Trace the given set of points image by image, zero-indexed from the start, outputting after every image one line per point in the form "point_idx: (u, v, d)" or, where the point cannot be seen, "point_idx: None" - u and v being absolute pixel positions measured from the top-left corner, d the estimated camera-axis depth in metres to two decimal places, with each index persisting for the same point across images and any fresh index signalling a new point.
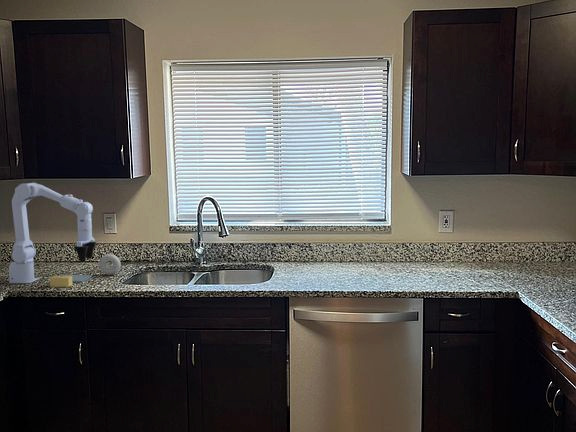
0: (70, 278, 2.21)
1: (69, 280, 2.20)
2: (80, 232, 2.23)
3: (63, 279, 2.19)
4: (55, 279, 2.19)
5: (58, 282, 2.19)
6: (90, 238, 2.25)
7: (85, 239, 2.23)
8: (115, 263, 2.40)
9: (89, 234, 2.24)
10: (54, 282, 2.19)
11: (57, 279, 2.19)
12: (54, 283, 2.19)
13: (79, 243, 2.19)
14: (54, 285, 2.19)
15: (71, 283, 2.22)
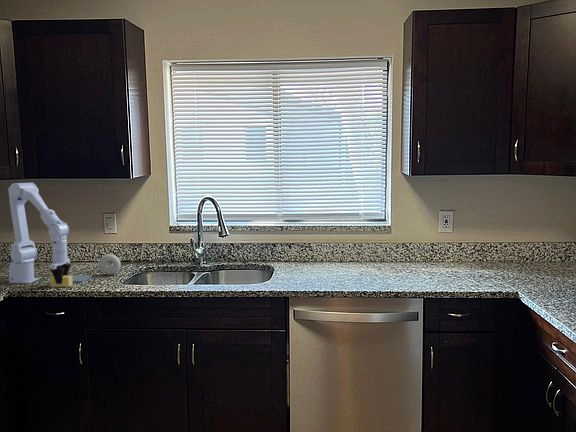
0: (70, 278, 2.21)
1: (69, 279, 2.20)
2: (55, 254, 2.17)
3: (63, 279, 2.19)
4: None
5: None
6: (65, 260, 2.19)
7: (60, 261, 2.18)
8: (115, 263, 2.40)
9: (64, 256, 2.19)
10: (54, 282, 2.19)
11: None
12: (55, 283, 2.19)
13: (53, 266, 2.13)
14: (54, 285, 2.19)
15: (71, 283, 2.22)
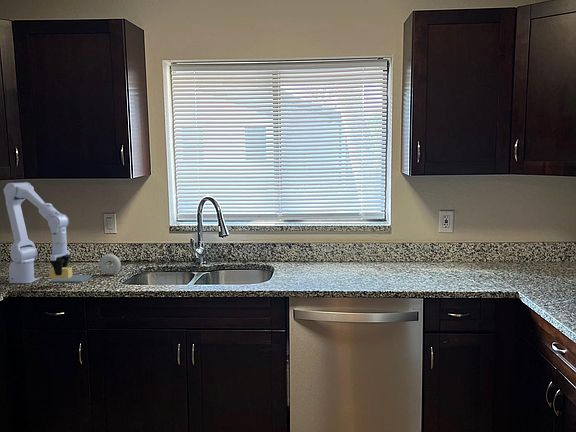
0: (70, 269, 2.21)
1: (68, 271, 2.19)
2: (54, 245, 2.17)
3: (63, 270, 2.19)
4: None
5: None
6: (65, 251, 2.19)
7: (59, 253, 2.17)
8: (115, 263, 2.40)
9: (64, 247, 2.18)
10: (53, 274, 2.19)
11: None
12: (54, 275, 2.19)
13: (53, 257, 2.13)
14: (54, 276, 2.19)
15: (71, 274, 2.22)
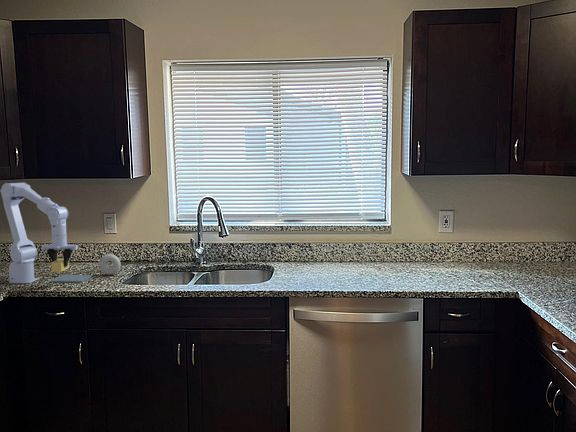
0: (56, 264, 2.16)
1: (53, 265, 2.16)
2: None
3: None
4: None
5: None
6: (54, 244, 2.17)
7: (52, 244, 2.18)
8: (115, 263, 2.40)
9: (53, 240, 2.17)
10: None
11: None
12: None
13: None
14: None
15: (58, 269, 2.16)
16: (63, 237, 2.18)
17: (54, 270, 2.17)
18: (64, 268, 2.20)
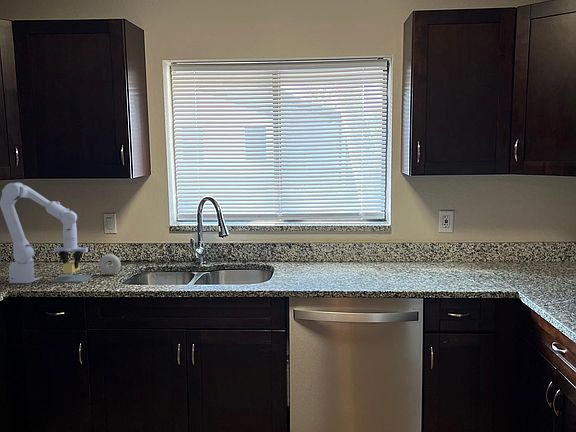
0: (67, 265, 2.27)
1: (64, 266, 2.28)
2: None
3: None
4: None
5: None
6: (66, 247, 2.28)
7: (63, 247, 2.29)
8: (115, 263, 2.40)
9: (65, 243, 2.28)
10: None
11: None
12: None
13: None
14: None
15: (69, 271, 2.28)
16: (74, 240, 2.29)
17: (65, 271, 2.28)
18: (75, 269, 2.31)
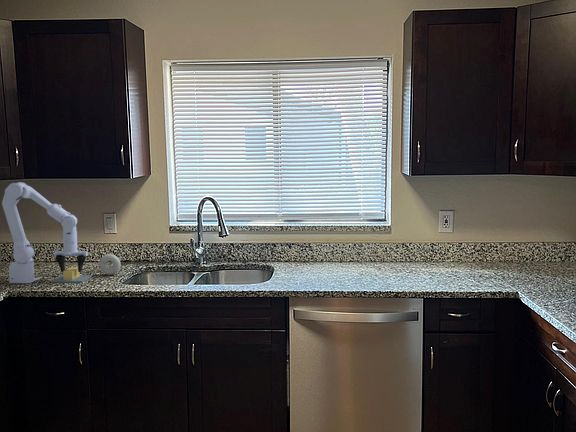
0: (68, 272, 2.28)
1: (64, 273, 2.28)
2: None
3: None
4: None
5: None
6: (66, 251, 2.28)
7: (63, 251, 2.30)
8: (115, 263, 2.40)
9: (65, 247, 2.28)
10: None
11: None
12: None
13: None
14: None
15: (70, 277, 2.28)
16: (74, 244, 2.29)
17: (66, 278, 2.28)
18: (75, 276, 2.31)
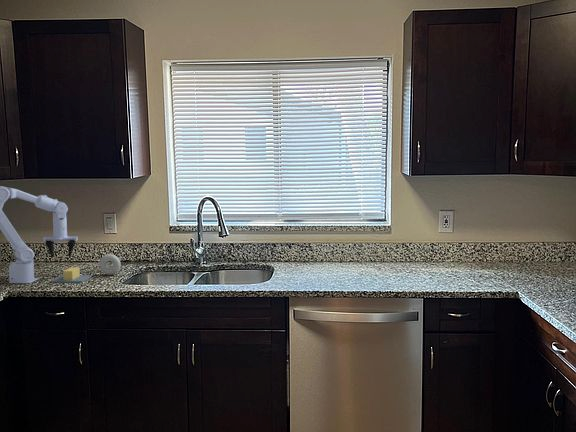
0: (68, 272, 2.28)
1: (64, 273, 2.28)
2: None
3: None
4: None
5: None
6: (56, 236, 2.33)
7: None
8: (115, 263, 2.40)
9: (55, 232, 2.33)
10: None
11: None
12: None
13: None
14: None
15: (70, 277, 2.28)
16: (64, 229, 2.35)
17: (66, 278, 2.28)
18: (75, 276, 2.31)
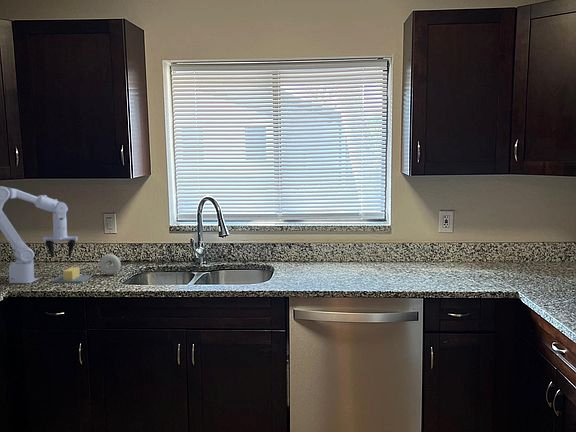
0: (68, 272, 2.28)
1: (64, 273, 2.28)
2: None
3: None
4: None
5: None
6: (56, 236, 2.33)
7: None
8: (115, 263, 2.40)
9: (55, 232, 2.33)
10: None
11: None
12: None
13: None
14: None
15: (70, 277, 2.28)
16: (64, 229, 2.35)
17: (66, 278, 2.28)
18: (75, 276, 2.31)
